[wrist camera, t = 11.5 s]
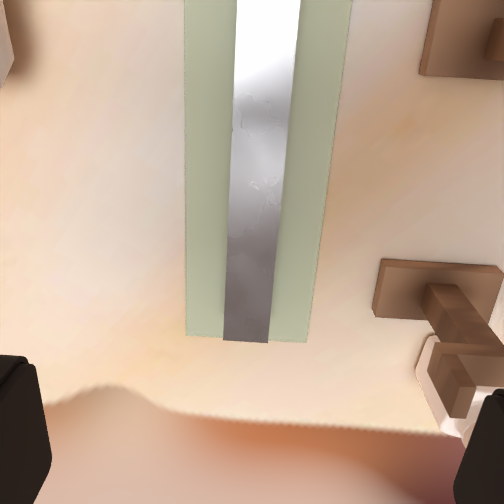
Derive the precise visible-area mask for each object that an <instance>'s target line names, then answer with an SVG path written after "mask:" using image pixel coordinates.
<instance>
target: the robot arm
mask: <svg viewBox="0 0 504 504" xmlns="http://www.w3.org/2000/svg"><path fill="white" fill-rule="evenodd" d="M51 462H52V453H51V447H50V442H49V437H48V431H47V426H46V420H45V415H44V410H43V404H42V399H41V393H40V388H39V383H38V377H37V372H36V368H35V366H34V365H33V364H29V363H28V360H27V358H26V357H23V356H12V355H0V504H33V503H34V501H35V499H36V497H37V495H38V493H39V491H40V489H41V487H42V485H43V483H44V481H45V479H46V477H47V475H48V473H49V470H50V467H51ZM453 491H454V498H455V501H456V504H504V389H501V388H499V389H496V390H494V392H493V393H492V395H487V396H486V397H485V399H484V401H483V404H482V406H481V409H480V412H479V415H478V417H477V420H476V423H475V426H474V429H473V431H472V434H471V437H470V440H469V442H468V445H467V448H466V451H465V453H464V456H463V459H462V462H461V464H460V467H459V470H458V473H457V475H456V478H455V481H454V486H453Z"/></svg>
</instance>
